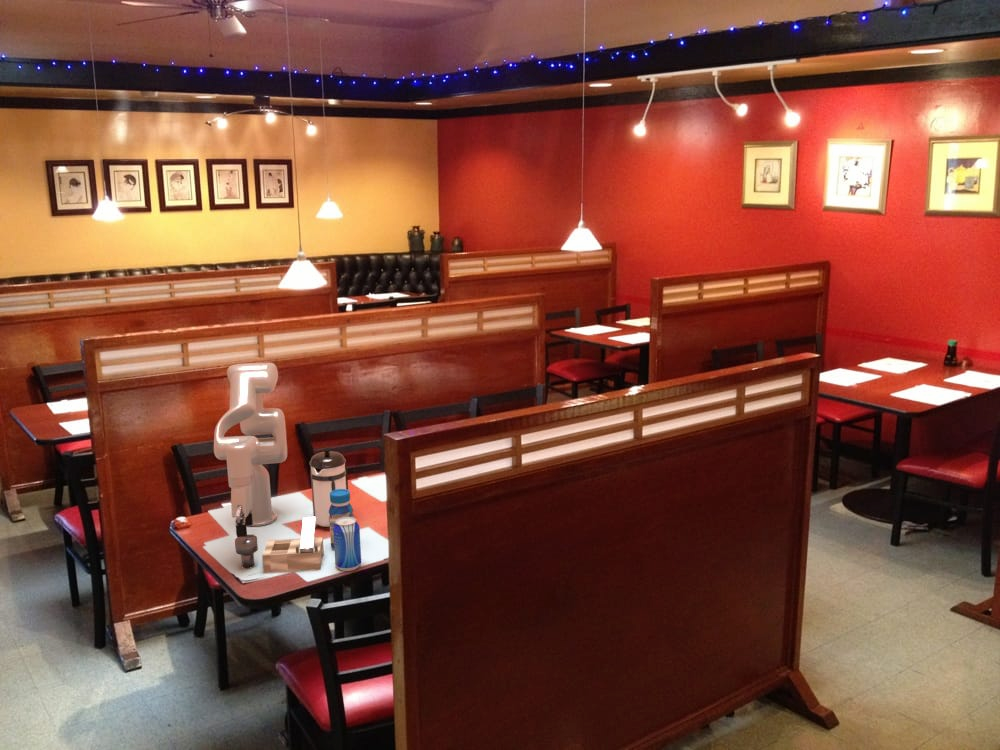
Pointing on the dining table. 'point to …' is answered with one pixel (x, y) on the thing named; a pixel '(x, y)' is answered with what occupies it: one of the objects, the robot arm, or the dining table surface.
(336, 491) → the beverage bottle
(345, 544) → the beer can
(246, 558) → the pin
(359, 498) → the dining table surface
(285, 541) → the board
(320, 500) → the coffee press
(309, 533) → the bar
